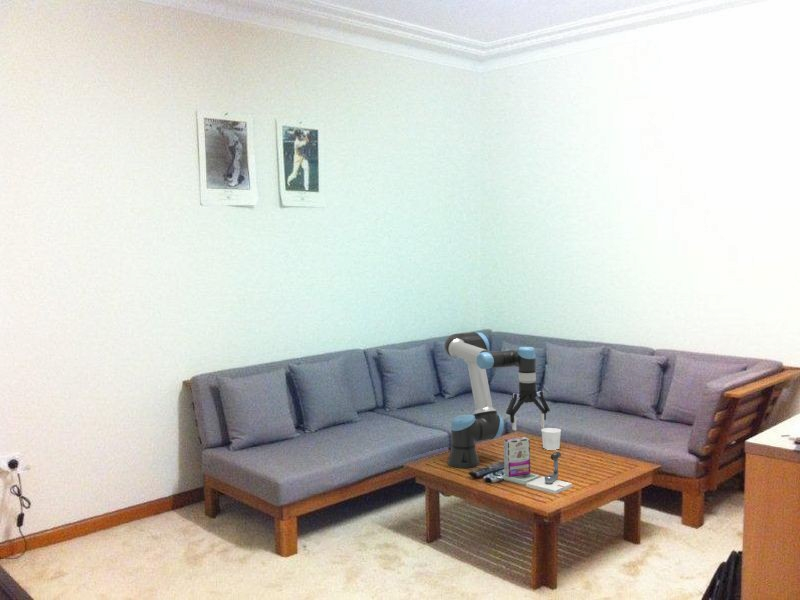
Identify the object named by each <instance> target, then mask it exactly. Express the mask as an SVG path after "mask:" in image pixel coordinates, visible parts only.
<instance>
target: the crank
mask: <svg viewBox="0 0 800 600" xmlns="http://www.w3.org/2000/svg"><path fill="white" fill-rule="evenodd" d="M561 456H562V454H561V452H560V451H556V452H555V453H552V454H550V459H551V460H552V461H553V472H552V473H550V474H548V475H545V476H544V477H545V483H547V484H552V483H553V481H554V480H559V458H561Z"/></svg>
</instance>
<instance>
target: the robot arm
mask: <svg viewBox="0 0 800 600" xmlns="http://www.w3.org/2000/svg"><path fill="white" fill-rule="evenodd" d="M443 348H444V351H445V353H446V354H447V356H449V357H452V358H455V359H458V358H461V359H463V362H465V363H467V369H468V374H469V381H470V387H471V392H472V397H473V403H474V408H475V410H474V412H473V414H470V413H469V414H461V415H457V416H455V417H453V418H452V420H451V421H450V422H451V423H450V425H451V426H450V429H451V430H450V431H451V432H450V434H451V435H450V436H451V440H450V441H451V442H450V443H451V448H450V453H449V455H448V459H447V464H448V465H449V466H450V467H454V468H458V469H470V468H476V467H478V466H480V458H479V456H478V452H477V450H476V449H477V447H476V442H481V441H488V440H494V439H498V438H500V437H502V435H503V433H504V429H505V428H504V427H505V425H504V424H505V422H504V418H503V417H502V415H501V414H499V413H498V412H497V409H495V408H494V407H493V400H492V396H491V391H490V386H489V381H488V380H489V379H488V374H487V370H490V369H499V368H500V369H501V368H510V367H515V368H517V367H518V381H519V382H518V393H516V392H513V393H512V394H511V395H512V396H511V397H512V398H511V400H510V403H509V404H508V406H507V409H506V412H505V414H506V415H509V419H510V423H511V424H512V425H511V426H512V427H511V428H512V431H517V416H516V414H517V412H518V411H519V409H520V408H521V406H522V405H524V403H525V404H528V403H533V404H534V405H535V406H536V407H537V408H538V409H539V410H540V412H539V423H540V424H539V425H540V428H541V429H544V428H545V421H546V419H547V413H548V412H550V411H551V410H550V407H549V406H548V403H547V401H546V399H545V397H544V393H543V391H541V390H538V391H537V382H536V381H537V375H536V371H537V370H536V364H537V363H536V357H537V356H536V349H535V347H532V346H519V348H518V349H514V348H510V349H509V348H508V349H505V350H498V351H497V350H496V351H490V343H489V340H488V338H487V336H486V335H485V334H484V333H482V332H480V331H479V332H475V331H472V332H464V333H463V332H462V333H454V334H451V335H449V336H448V337H447V338H446V340H445V341H444V344H443ZM536 397H538V398H539V400H540V402H541V404H542V405H541V404H540V402H539V401H538V400H537V398H536ZM518 398H519V399H518ZM517 399H518V401H517ZM516 401H517V402H516Z"/></svg>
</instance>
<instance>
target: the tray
mask: <svg viewBox="0 0 800 600" xmlns="http://www.w3.org/2000/svg"><path fill="white" fill-rule="evenodd" d="M498 475H500V476H502V477H503V479H504V480H503V481H505V482H510V483H513V484H514V483H515V484H517V485H521V486H525V487H526V483H528V482H530V481H533V480H535V479H538V478H540V477H541V476H540V475H539V474H537V473H536V474H534V473H531V472H530V474H527V475H521V476H514V477H508V476H506V475H502V474H498Z"/></svg>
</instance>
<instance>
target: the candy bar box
mask: <svg viewBox="0 0 800 600" xmlns="http://www.w3.org/2000/svg"><path fill="white" fill-rule="evenodd" d="M530 441H531V439H530V438H528V437H526V436H521V437H513V438H512V437H511V438H505V439H503V465H504V466H503V467H504V469H503V470H504V474H505V475H506V476H508V477H514V476H521V475H527V474H530V473H531V451H530V450H531V445H530V443H531V442H530Z"/></svg>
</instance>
